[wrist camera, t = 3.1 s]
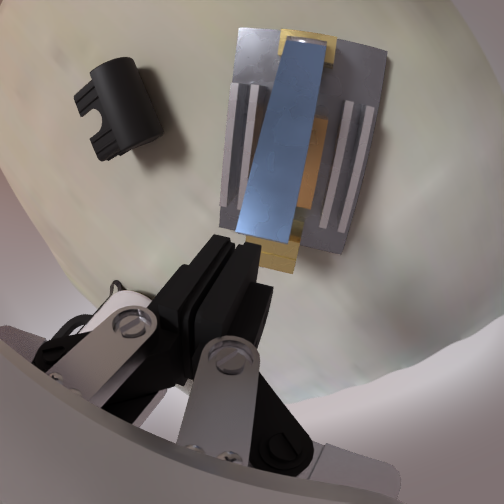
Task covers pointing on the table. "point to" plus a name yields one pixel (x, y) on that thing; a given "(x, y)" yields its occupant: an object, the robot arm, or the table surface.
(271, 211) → the strap
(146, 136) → the end cap
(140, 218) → the table surface
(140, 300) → the coffee press
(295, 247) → the block
